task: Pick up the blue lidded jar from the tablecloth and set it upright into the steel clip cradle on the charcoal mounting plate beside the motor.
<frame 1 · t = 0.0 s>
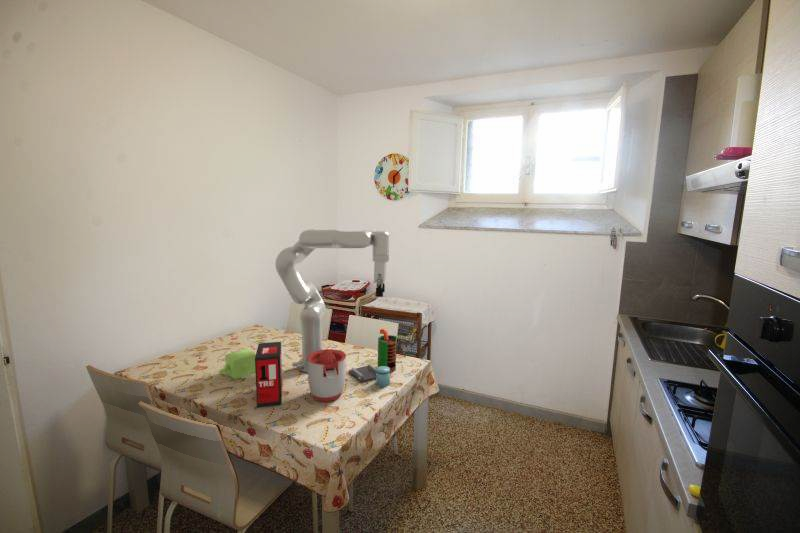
hand: (380, 294, 169), 37 cm above the table, tool pointing down, fingers open, 9 cm apart
citrus juicer: (327, 396, 148), on the table
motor: (386, 369, 175), on the table
blue lidded jar: (382, 383, 160), on the table
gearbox: (240, 374, 167), on the table
cleaning product box: (270, 396, 148), on the table
mount plate: (365, 374, 169), on the table
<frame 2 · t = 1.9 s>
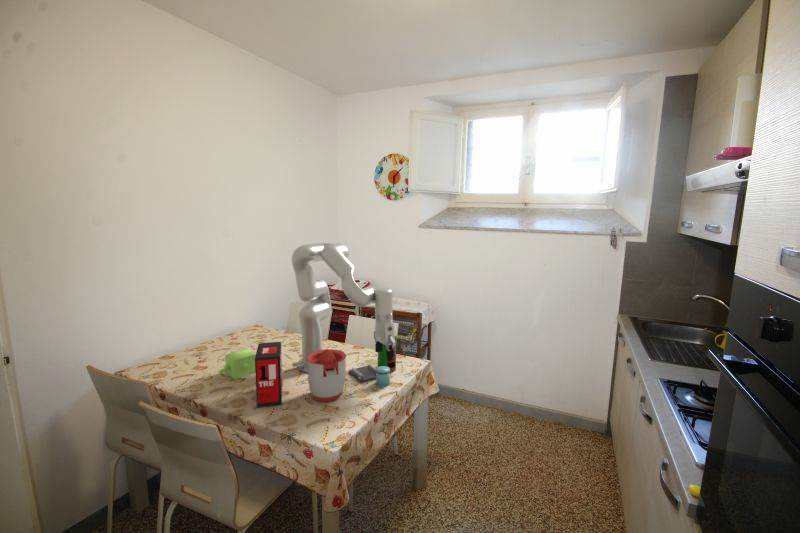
hand: (384, 355, 158), 13 cm above the table, tool pointing down, fingers open, 9 cm apart
nothing on the table moved.
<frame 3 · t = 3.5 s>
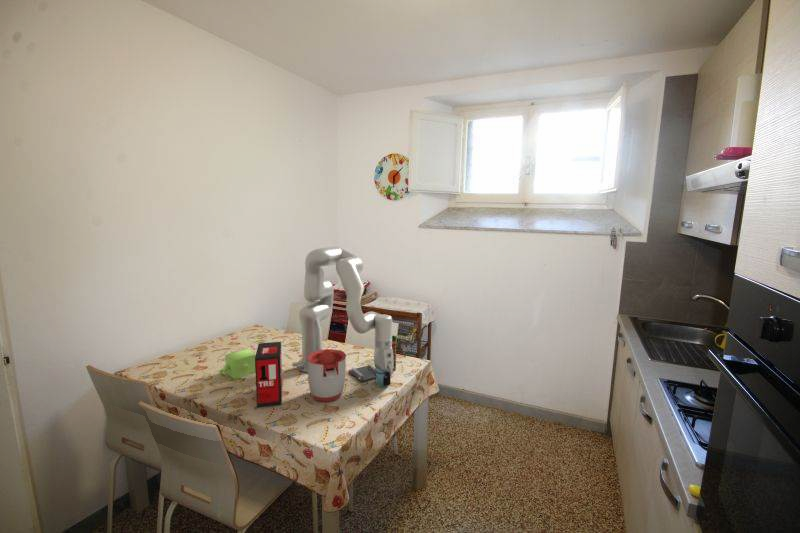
hand: (382, 381, 160), 1 cm above the table, tool pointing down, fingers closed on blue lidded jar, 6 cm apart
blue lidded jar: (382, 383, 160), on the table, touching gripper
everything else where it was.
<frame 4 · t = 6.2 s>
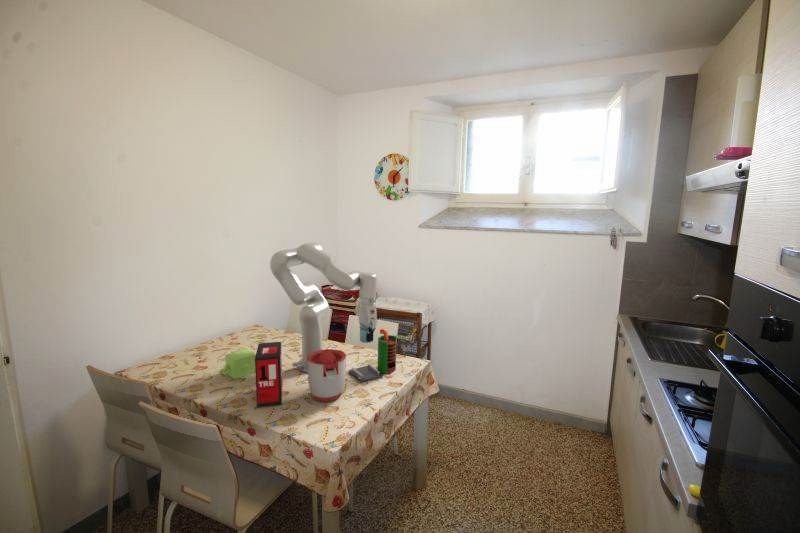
hand: (366, 338, 165), 18 cm above the table, tool pointing down, fingers closed on blue lidded jar, 6 cm apart
blue lidded jar: (366, 340, 165), point 17 cm above the table, touching gripper
everything else where it was.
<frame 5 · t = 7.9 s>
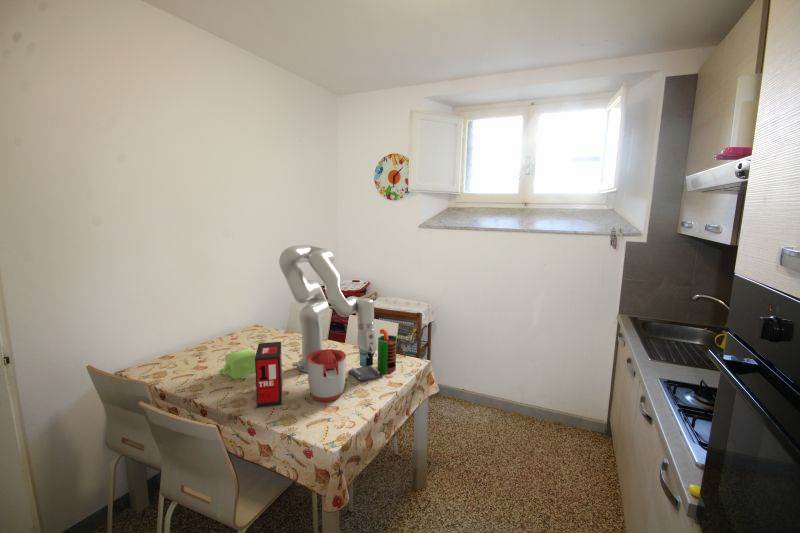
hand: (366, 362, 168), 6 cm above the table, tool pointing down, fingers closed on blue lidded jar, 6 cm apart
blue lidded jar: (366, 364, 168), point 5 cm above the table, touching gripper
everything else where it was.
when the fingers open (4 cm above the table, at t = 9.2 s): blue lidded jar drops 2 cm, resting on mount plate.
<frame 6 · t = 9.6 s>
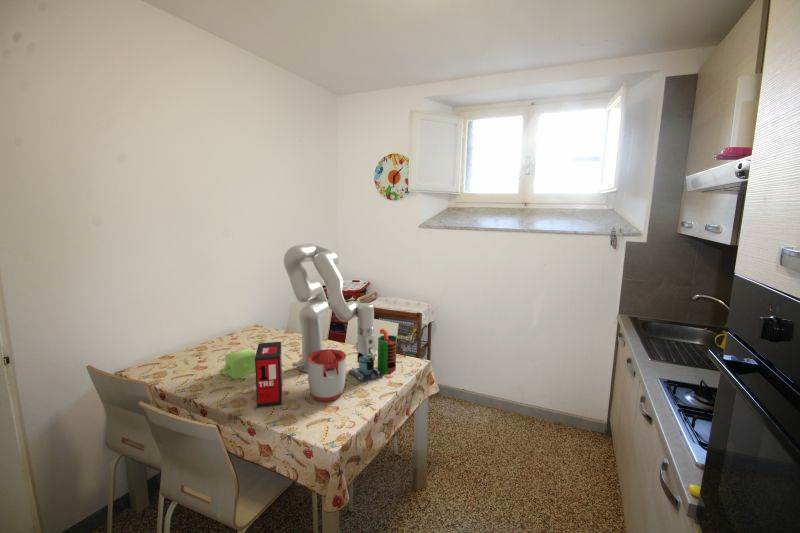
hand: (365, 365, 168), 4 cm above the table, tool pointing down, fingers open, 9 cm apart
blue lidded jar: (365, 372, 169), point 1 cm above the table, touching mount plate
everything else where it was.
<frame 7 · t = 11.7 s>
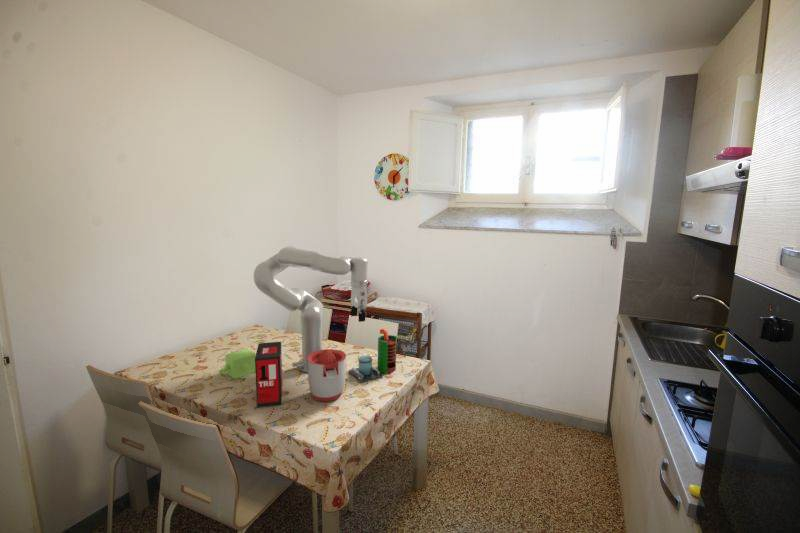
hand: (357, 318, 174), 24 cm above the table, tool pointing down, fingers open, 9 cm apart
nothing on the table moved.
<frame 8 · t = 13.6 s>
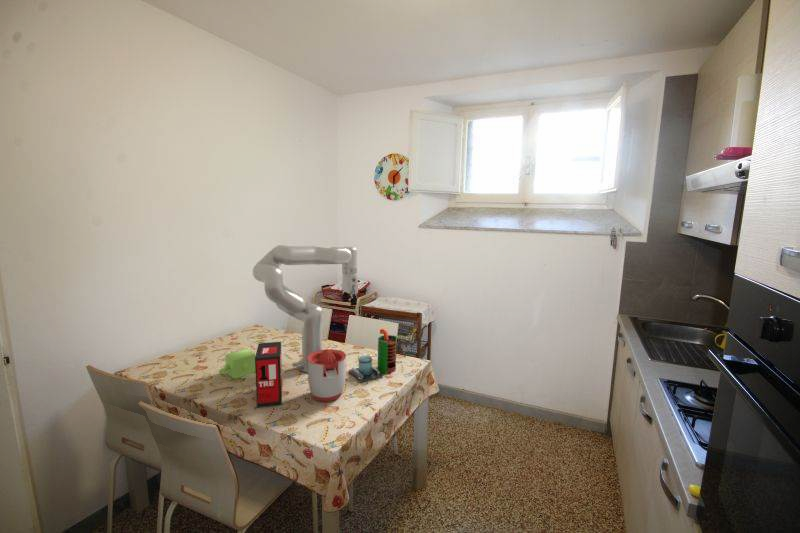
hand: (349, 303, 187), 28 cm above the table, tool pointing down, fingers open, 9 cm apart
nothing on the table moved.
at the end: blue lidded jar 0.1 cm off-centre on the mount plate, point 1.0 cm above the mount plate's base; blue lidded jar tilted 1°; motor moved 0.2 cm from its start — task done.
